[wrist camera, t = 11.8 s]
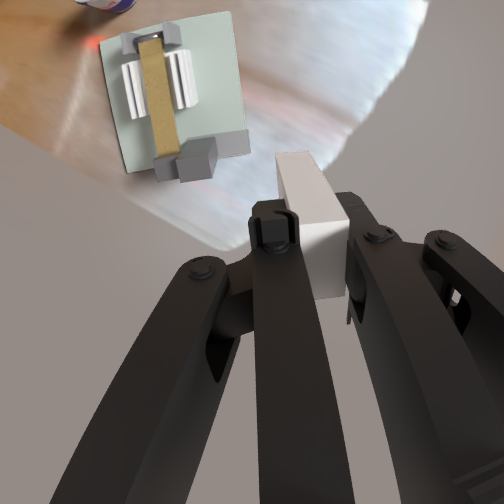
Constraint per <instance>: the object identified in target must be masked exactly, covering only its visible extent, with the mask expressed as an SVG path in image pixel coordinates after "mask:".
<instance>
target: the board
mask: <svg viewBox="0 0 504 504" xmlns="http://www.w3.org/2000/svg"><path fill="white" fill-rule="evenodd" d="M162 30H163V34H164V40H163V42H164V49H165V58H166V65H167V71H168V78H169V84H170V90H171V97H172V103H173V109H174V115H175V120H176V126H177V132H178V137H179V143H180V148H181V151H182V150H183V148H184V147H185V145H186V144H187V142H188V141H189V140H196V139H202V138H208V137H215V138H216V145H217V151H218V158H221V157H228V156H236V155H244V154H249V153H251V149H250V141H249V133H248V130H246V122H245V114H244V107H243V99H242V91H241V84H240V76H239V69H238V61H237V54H236V47H235V39H234V32H233V25H232V18H231V11H226V12H219V13H213V14H207V15H201V16H195V17H190V18H185V19H180V20H176V21H171V22H170V21H163V22H162V24H158V25H154V26H151V27H147V28H143V29H139V30H136V31H132V32H123V33H120V35H119V36H116V37H113V38H110V39H107V40H104V41H101V42H99V44H100V50H101V56H102V61H103V67H104V72H105V78H106V83H107V88H108V93H109V98H110V102H111V107H112V112H113V116H114V121H115V125H116V129H117V133H118V138H119V142H120V146H121V150H122V154H123V158H124V162H125V165H126V169H127V173H131V172H136V171H141V170H146V169H152V168H154V165H153V161H152V160H153V159H154V158H156V157H158V153H157V148H156V143H155V138H154V132H153V127H152V122H151V117H150V111H149V105H148V100H147V94H146V88H145V82H144V76H143V69H142V63H141V58H140V53H139V47H136V46H135V44H134V38H135V37H139V36H142V35H146V34H150V33H154V32H158V31H162Z"/></svg>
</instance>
